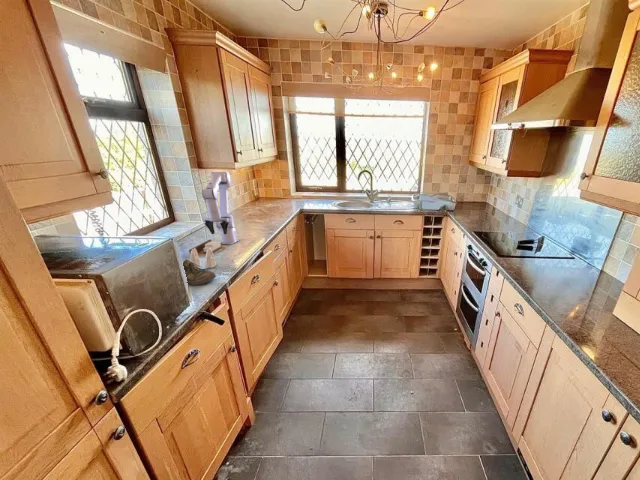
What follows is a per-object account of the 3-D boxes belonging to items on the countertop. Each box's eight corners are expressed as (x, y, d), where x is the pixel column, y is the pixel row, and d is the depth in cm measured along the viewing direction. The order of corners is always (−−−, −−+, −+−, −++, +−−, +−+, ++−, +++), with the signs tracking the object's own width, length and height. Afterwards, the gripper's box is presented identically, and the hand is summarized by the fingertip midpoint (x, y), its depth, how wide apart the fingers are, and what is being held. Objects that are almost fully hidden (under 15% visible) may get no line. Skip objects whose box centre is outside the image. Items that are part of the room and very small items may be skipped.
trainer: (214, 247, 188) (212, 240, 186) (222, 247, 188) (220, 240, 186) (203, 253, 178) (201, 245, 176) (212, 253, 178) (209, 246, 176)
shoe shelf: (210, 245, 193) (209, 239, 191) (229, 245, 192) (227, 239, 190) (190, 256, 175) (188, 249, 173) (210, 256, 174) (209, 250, 172)
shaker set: (191, 272, 153) (184, 251, 148) (190, 269, 156) (183, 249, 151) (217, 267, 159) (212, 246, 154) (216, 264, 162) (210, 244, 157)
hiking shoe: (207, 282, 136) (206, 256, 137) (163, 287, 138) (162, 260, 138) (220, 284, 145) (219, 259, 146) (178, 288, 147) (177, 263, 148)
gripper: (197, 212, 173) (203, 235, 178) (222, 212, 172) (227, 235, 178) (204, 209, 179) (210, 232, 185) (228, 209, 178) (233, 232, 184)
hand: (219, 233), depth 182 cm, fingers open, 7 cm apart
